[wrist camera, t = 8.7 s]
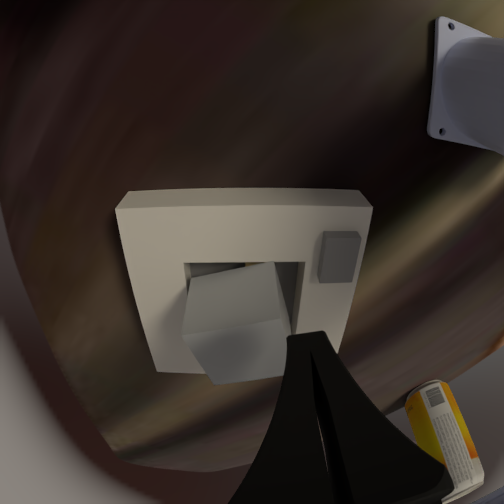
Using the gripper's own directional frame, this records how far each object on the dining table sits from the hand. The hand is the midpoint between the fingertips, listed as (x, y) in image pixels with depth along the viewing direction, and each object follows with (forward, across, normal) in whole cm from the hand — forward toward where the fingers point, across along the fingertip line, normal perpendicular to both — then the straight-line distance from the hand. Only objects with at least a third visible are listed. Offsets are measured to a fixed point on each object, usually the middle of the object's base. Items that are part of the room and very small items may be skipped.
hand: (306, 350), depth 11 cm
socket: (+10, +3, +4) cm, 11 cm away
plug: (+9, +3, +4) cm, 10 cm away
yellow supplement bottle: (+10, -16, +26) cm, 32 cm away
